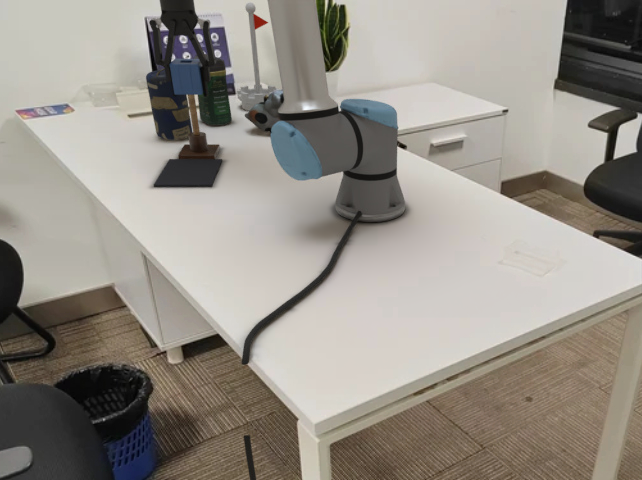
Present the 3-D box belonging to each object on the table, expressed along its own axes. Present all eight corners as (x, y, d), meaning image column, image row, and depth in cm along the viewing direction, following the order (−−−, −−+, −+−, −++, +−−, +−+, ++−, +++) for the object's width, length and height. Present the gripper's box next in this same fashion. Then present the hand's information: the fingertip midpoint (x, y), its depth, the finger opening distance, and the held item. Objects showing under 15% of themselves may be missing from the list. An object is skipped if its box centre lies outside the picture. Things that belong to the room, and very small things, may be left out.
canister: (200, 136, 191) (190, 68, 181) (173, 144, 184) (161, 74, 174) (177, 130, 195) (165, 63, 185) (149, 137, 188) (136, 68, 178)
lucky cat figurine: (269, 119, 207) (289, 77, 200) (297, 142, 204) (318, 101, 198) (235, 115, 194) (255, 71, 187) (264, 140, 191) (286, 96, 185)
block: (201, 94, 168) (197, 64, 164) (174, 94, 167) (169, 64, 163) (206, 88, 173) (202, 58, 169) (179, 88, 172) (174, 58, 168)
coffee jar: (236, 123, 202) (228, 56, 192) (211, 128, 198) (201, 59, 188) (221, 116, 208) (213, 50, 198) (196, 120, 204) (186, 53, 194)
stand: (215, 160, 176) (206, 97, 167) (178, 159, 175) (168, 97, 166) (220, 148, 183) (212, 88, 174) (185, 148, 182) (175, 88, 173)
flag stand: (232, 110, 214) (219, 3, 197) (248, 100, 225) (237, -2, 208) (272, 113, 212) (263, 6, 196) (286, 103, 223) (278, 1, 206)
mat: (211, 186, 160) (211, 184, 160) (153, 187, 159) (153, 184, 158) (222, 161, 175) (222, 158, 175) (169, 161, 174) (169, 158, 173)
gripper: (221, -10, 162) (233, 91, 175) (135, -12, 160) (154, 91, 172) (216, -6, 156) (229, 99, 168) (127, -8, 154) (147, 98, 166)
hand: (191, 94), depth 170 cm, fingers closed on block, 6 cm apart
